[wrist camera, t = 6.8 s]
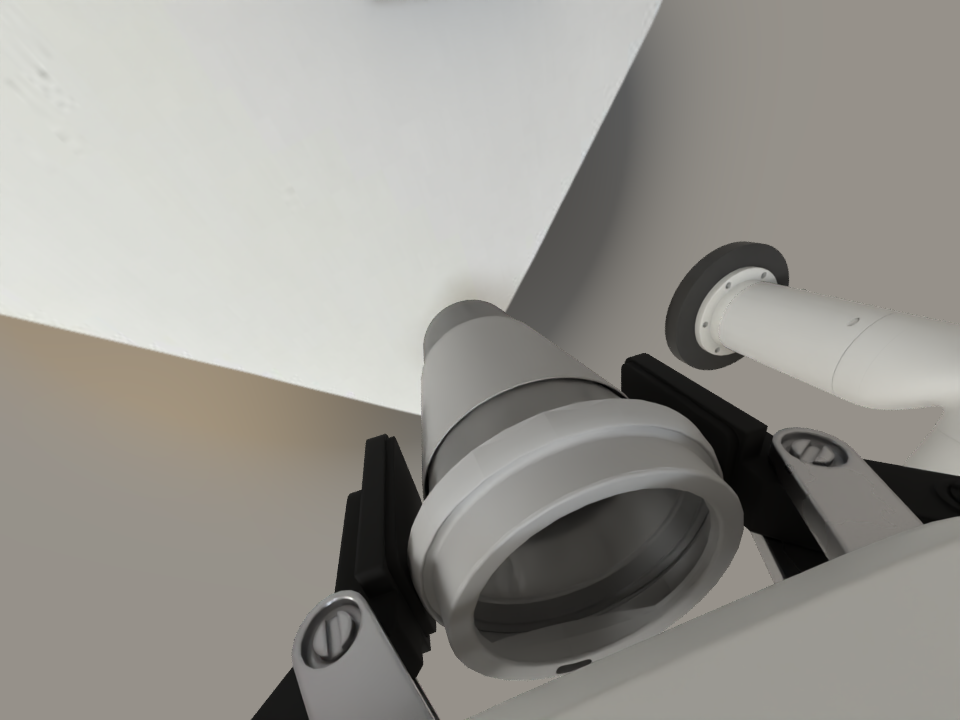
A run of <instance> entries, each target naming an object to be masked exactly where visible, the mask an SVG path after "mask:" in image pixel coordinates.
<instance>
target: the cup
mask: <svg viewBox="0 0 960 720" xmlns="http://www.w3.org/2000/svg"><path fill="white" fill-rule="evenodd" d="M423 352H424V366H423V369H422V376H421V417H422V418H421V419H422V486H423V498H424V502H423V504H422V506H421V508H420V510H419V513H418V515H417V517H416V519H415V521H414V523H413V526H412V528H411V532H410V536H409V541H408V548H407V561H408V568H409V572H410V575H411V579H412V582H413V585H414V587H415V590H416V592H417V594H418V596H419V598H420V600H421V602H422V604H423V606H424V607H425V609H426V610H427V611H428V613H429V614H430V615H431V616H432V617H433V619H434V620H436V621H437V622H438V623H439V624H440V625H442V626H444V627H445V629H446V633H447V636H448V640H449V643H450V646H451V648H452V650H453V652H454V653H455V655H456V657H457V658H458V659H459V660H460V661H461V662H463V663H464V664H465V665H466V666H467V667H468V668H470V669H472V670H474V671H476V672H478V673H481V674H483V675H485V676H489V677H494V678H498V679H504V680H536V679H545V678H551V677H556V676H561V675H565V674H568V673H570V672H573V671H575V670H577V669H579V668H582V667H584V666H586V665H589V664H591V663H593V662H595V661H598V660H600V659H602V658H604V657H607V656H609V655H611V654H614V653H616V652H618V651H620V650H623V649H625V648H627V647H630V646H632V645H634V644H637V643H639V642H641V641H643V640H646V639H648V638H650V637H653V636H655V635H657V634H659V633H661V632H662V631H664V630H665V629H667V628H668V627H669V626H670V625H672V624H673V623H675V622H676V621H677V620H679V619H680V618H681V617H683V616H684V615H685V614H686V613H687V612H688V611H690V610H691V609H692V608H693V607H694V606H695V605H696V604H697V603H699V602H700V601H701V600H702V599H703V598H704V596H706V594H707V593H708V592H709V591H710V590H711V589H712V588H713V587H714V586H715V585H716V584H717V582H718V581H719V579H720V578H721V577H722V575H723V574H724V572H725V571H726V570H727V568H728V567H729V565H730V563H731V561H732V559H733V558H734V555H735V554H736V552H737V550H738V548H739V544H740V541H741V537H742V534H743V530H744V512H743V509H742V506H741V503H740V501H739V498H738V496H737V495H736V493H735V492H734V491H733V489H732V488H731V487H730V486H729V485H728V484H727V483H726V482H725V481H724V480H723V473H722V470H721V468H720V465H719V462H718V460H717V457H716V455H715V452H714V450H713V448H712V446H711V445H710V444H709V443H708V441H707V440H706V439H705V438H704V436H703V435H702V434H701V432H700V431H699V430H698V428H697V427H696V426H695V425H694V424H693V423H692V422H691V421H690V420H689V419H687V418H686V417H685V416H683V415H682V414H680V413H678V412H677V411H675V410H673V409H671V408H669V407H666V406H663V405H660V404H656V403H652V402H648V401H644V400H638V399H629V398H628V397H627V396H626V395H625V394H624V393H623V392H622V391H620V390H619V389H617V388H616V387H614V386H613V385H612V384H610V383H609V382H607V381H606V380H604V379H603V378H602V377H600V376H599V375H598V374H596V373H595V372H593V371H592V370H590V369H589V368H587V367H586V366H585V365H583V364H582V363H581V362H579V361H578V360H576V359H575V358H573V357H572V356H571V355H569V354H568V353H566V352H565V351H564V350H562V349H561V348H559V347H558V346H557V345H555V344H553V343H552V342H551V341H549V340H548V339H547V338H545V337H544V336H542V335H541V334H540V333H538V332H537V331H535V330H534V329H532V328H531V327H529V326H528V325H526V324H525V323H523V322H521V321H518V320H515V319H513V318H511V317H510V316H509V315H508V314H506V313H505V312H503V311H502V310H501V309H499V308H498V307H497V306H495V305H493V304H491V303H488V302H485V301H481V300H465V301H460V302H457V303H454V304H452V305H450V306H448V307H446V308H445V309H443V310H442V311H441V312H439V313H438V314H437V315H436V317H435V318H434V319H433V320H432V322H431V323H430V325H429V326H428V328H427V331H426V334H425V337H424V344H423Z"/></svg>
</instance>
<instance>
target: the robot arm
mask: <svg viewBox="0 0 960 720" xmlns="http://www.w3.org/2000/svg"><path fill="white" fill-rule="evenodd" d="M695 336H696V340H697V342H698V344H699V346H700V347H701V348H702V349H704V350H705V351H707V352H709V353H711V354H714V355H721V356H722V355H729V354H732V353H735V352H737V353H739V354H742V355H744V356H746V357H748V358H751V359H753V360H755V361H758V362H760V363H762V364H764V365H767V366H769V367H771V368H773V369H776V370H778V371H780V372H783V373H785V374H787V375H789V376H792V377H794V378H796V379H798V380H801V381H803V382H806V383H808V384H810V385H812V386H814V387H817V388H819V389H821V390H824V391H826V392H828V393H831V394H833V395H835V396H838V397H840V398H842V399H844V400H847V401H849V402H851V403H854V404H856V405H859V406H864V407H867V408H873V409H880V410H902V409H912V408H913V409H914V408H922V407H932V406H941V407H942V408H943V411H944V412H943V414H942V416H941V418H940V419H939V420H938V422H937V423H936V424H935V425H936V426H935V427H934V428H933V430H932V431H931V432H930V433H929V434H928V435H927V437H926V438H925V439H924V440H923V441H922V443H921V444H920V445H919V446H918V447H917V448H916V450H915V451H914V452H913V453H912V454H911V456H910V457H909V458H908V459H907V460H906V462H905V463H904V465H903V466H899V465H893V464H888V463H882V462H877V461H871V460H865V459H862V458H861V457H860V456H859V455H858V454H857V453H856V452H855V450H854V449H852V448H851V447H850V446H849V445H848V444H846V443H845V442H843V441H841V440H840V439H838V438H836V437H834V436H832V435H829V434H827V433H824V432H821V431H817V430H813V429H808V428H798V427H796V428H785V429H782V430H779V431H778V432H777V433H776V434H774V436H773V435H771V434H769V433H768V432H766V431H767V427H768V426H767V425H765V424H764V423H762V422H760V421H759V420H757V419H755V418H754V417H752V416H750V415H749V414H747V413H745V412H744V411H742V410H740V409H739V408H737V407H735V406H733V405H732V404H730V403H729V402H727V401H725V400H723V399H722V398H720V397H719V396H717V395H715V394H714V393H712V392H710V391H709V390H707V389H705V388H703V387H702V386H700V385H699V384H697V383H695V382H694V381H692V380H690V379H689V378H687V377H685V376H684V375H682V374H680V373H679V372H677V371H675V370H674V369H672V368H670V367H669V366H667V365H665V364H664V363H662V362H660V361H659V360H657V359H655V358H654V357H652V356H650V355H649V354H646V353H642V354H639V355H636V356H633V357H629V358H627V359H626V361H625V364H623V365H622V368H621V391H622V392H623V393H624V394H625V395H626V396H627V397H628V398H629V399H638V400H644V401H648V402H652V403H656V404H660V405H663V406H666V407H669V408H671V409H673V410H675V411H677V412H678V413H680V414H682V415H683V416H685V417H686V418H687V419H689V420H690V421H691V422H692V423H693V424H694V425H695V426H696V427H697V428H698V430H699V431H700V432H701V434H702V435H703V436H704V438H705V439H706V440H707V441H708V443H709V444H710V445H711V446H712V448H713V450H714V452H715V455H716V457H717V460H718V462H719V465H720V468H721V470H722V473H723V480H724V481H725V482H726V483H727V484H728V485H729V486H730V487H731V488H732V489H733V491H734V492H735V493H736V495H737V496H738V498H739V501H740V503H741V506H742V509H743V512H744V526H745V527H746V528H747V529H748V530H749V531H750V532H751V534H752V536H753V538H754V541H755V543H756V545H757V548H758V550H759V552H760V554H761V556H762V558H763V561H764V562H765V565H766V567H767V569H768V571H769V574H770V576H771V578H772V580H773V582H774V584H773V585H771V586H769V587H766V588H764V589H762V590H760V591H757V592H755V593H752V594H750V595H748V596H745V597H743V598H741V599H738V600H736V601H734V602H731V603H729V604H727V605H725V606H722V607H720V608H717V609H716V610H713V611H711V612H708V613H706V614H704V615H701V616H699V617H697V618H694V619H692V620H690V621H687V622H685V623H683V624H680V625H678V626H676V627H674V628H671V629H669V630H667V631H664V632H662V633H660V634H657V635H655V636H653V637H650V638H648V639H646V640H643V641H641V642H639V643H637V644H634V645H632V646H630V647H627V648H625V649H623V650H620V651H618V652H616V653H614V654H611V655H609V656H607V657H604V658H602V659H600V660H598V661H595V662H593V663H591V664H589V665H586V666H584V667H582V668H579V669H577V670H575V671H573V672H570V673H568V674H566V675H563V676H561V677H559V678H557V679H554V680H552V681H550V682H548V683H545V684H543V685H541V686H538V687H536V688H534V689H532V690H529V691H527V692H525V693H522V694H520V695H518V696H516V697H513V698H511V699H509V700H507V701H504V702H502V703H500V704H498V705H496V706H494V707H492V708H489V709H487V710H485V711H483V712H481V713H479V714H476V715H474V716H472V717H470V718H468V719H466V720H960V324H957V323H952V322H947V321H941V320H937V319H932V318H928V317H922V316H918V315H913V314H909V313H904V312H900V311H895V310H891V309H886V308H882V307H877V306H872V305H868V304H864V303H859V302H855V301H850V300H846V299H841V298H837V297H832V296H827V295H823V294H818V293H814V292H809V291H807V290H805V289H801V290H800V289H796V288H791V287H787V286H782V285H778V284H777V281H776V278H775V277H774V275H773V274H772V273H771V272H770V271H769V270H766V269H764V268H760V267H754V266H750V267H743V268H740V269H737V270H735V271H733V272H731V273H729V274H728V275H726V276H725V277H723V278H722V279H721V280H720V281H719V282H718V283H717V284H716V285H715V286H714V287H713V288H712V289H711V290H710V291H709V293H708V294H707V296H706V297H705V299H704V300H703V302H702V304H701V306H700V308H699V311H698V314H697V317H696V322H695ZM421 506H422V502H421V499H420V496H419V494H418V491H417V489H416V486H415V484H414V481H413V479H412V477H411V474H410V472H409V469H408V467H407V464H406V462H405V460H404V457H403V455H402V452H401V450H400V447H399V445H398V443H397V440H396V438H395V437H394V436H393V437H390V438H389V437H388V436H387V435H386V434H383V435H380V436H377V437H374V438H370V439H368V440H367V441H366V447H365V458H364V471H363V481H362V490H359V491H357V492H353V493H351V494H349V496H348V499H347V504H346V512H345V519H344V527H343V534H342V541H341V549H340V557H339V564H338V571H337V579H336V586H335V593H334V594H331V595H329V596H328V597H327V598H325V599H324V600H322V601H321V602H319V603H318V604H317V605H316V606H315V607H314V608H313V609H312V610H311V611H310V612H309V614H308V615H307V617H306V618H305V619H304V621H303V623H302V624H301V625H300V628H299V630H298V632H297V634H296V637H295V639H294V644H293V649H292V662H293V667H292V668H291V670H290V671H289V672H288V673H287V675H286V676H285V677H284V679H283V680H282V681H281V682H280V684H279V685H278V686H277V687H276V689H275V690H274V691H273V693H272V694H271V695H270V696H269V698H268V699H267V700H266V701H265V703H264V704H263V705H262V706H261V708H260V709H259V710H258V712H257V713H256V714H255V715H254V717H253V718H252V719H251V720H441V719H440V717H439V716H438V714H437V712H436V710H435V709H434V707H433V705H432V703H431V702H430V700H429V698H428V697H427V695H426V693H425V692H424V690H423V688H422V686H421V685H420V683H419V681H418V679H417V678H416V677H417V675H418V673H419V671H420V670H421V668H422V666H423V655H422V654H423V653H425V652H428V651H430V650H431V647H430V635H429V634H432V633H434V632H436V620H434V619H433V617H432V616H431V615H430V614H429V613H428V611H427V610H426V609H425V607H424V606H423V604H422V602H421V600H420V598H419V596H418V594H417V592H416V590H415V587H414V585H413V582H412V579H411V575H410V572H409V568H408V561H407V548H408V541H409V536H410V532H411V528H412V526H413V523H414V521H415V519H416V517H417V515H418V513H419V510H420V508H421Z"/></svg>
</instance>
